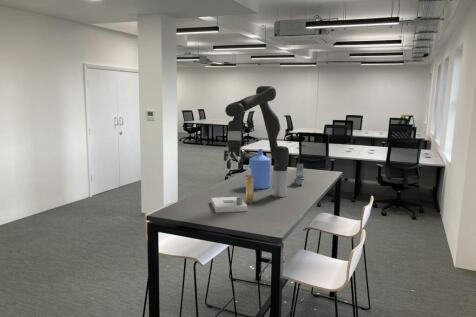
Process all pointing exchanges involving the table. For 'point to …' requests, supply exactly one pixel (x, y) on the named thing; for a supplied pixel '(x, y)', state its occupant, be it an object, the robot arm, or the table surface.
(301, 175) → the faucet
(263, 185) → the water jug
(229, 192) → the table surface
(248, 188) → the valve
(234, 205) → the plate
